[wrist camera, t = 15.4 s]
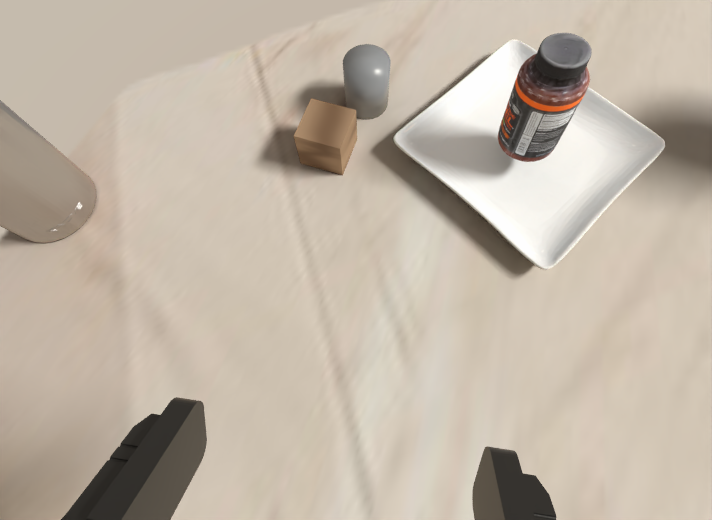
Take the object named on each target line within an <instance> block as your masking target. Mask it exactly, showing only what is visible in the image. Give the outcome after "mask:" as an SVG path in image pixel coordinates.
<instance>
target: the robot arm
mask: <svg viewBox="0 0 712 520" xmlns="http://www.w3.org/2000/svg"><path fill="white" fill-rule="evenodd" d="M95 202H96V189H95V186H94V183H93V181H92V180H91V179H90V177H89V176H88V175H86V174H85V173H84V172H83V171H82V170H81V169H79V168H78V167H77V166H76V165H75V164H74V163H73V162H71V161H70V160H69V159H68V158H67V157H66V156H65V155H63V154H62V153H61V152H60V151H59V150H58V149H57V148H55V147H54V146H53V145H52V144H51V143H50V142H48V141H47V140H46V139H45V138H44V137H43V136H41V135H40V134H39V133H38V132H37V131H36V130H34V129H33V128H32V127H31V126H30V125H29V124H27V123H26V122H25V121H24V120H23V119H21V118H20V117H19V116H18V115H17V114H16V113H15V112H13V111H12V110H11V109H10V108H9V107H8V106H6V105H5V104H4V103H3V102H2V101H1V100H0V226H1V227H3V228H5V229H7V230H9V231H11V232H13V233H15V234H17V235H19V236H21V237H23V238H25V239H27V240H30V241H33V242H41V243H46V242H53V241H57V240H60V239H63V238H65V237H67V236H69V235H71V234H72V233H74V232H75V231H76V230H78V229H79V228H80V227H81V226H82V225H83V224H84V223H85V222H86V221H87V219H88V218H89V216H90V215H91V213H92V211H93V209H94V206H95ZM206 442H207V437H206V426H205V416H204V406H203V403H202V402H201V401H196V400H190V399H183V398H174V399H173V400H171V402H170V403H169V404H168V406H167V407H166V408H165V410H164V411H163V413H162V414H161V415H157V414H151V415H149V416H148V417H147V418H145V419H144V420H142V421H141V422H140V423H138V424H137V425H136V426H134V427H133V428H132V430H131V431H130V432H129V434H128V435H127V436H126V437H125V439H124V440H123V441H122V443H121V445H120V447H118V448H117V449H116V450H115V452H114V453H113V454H112V455H111V457H110V460H109V461H107V462H106V463H105V465H104V466H103V467H102V468H101V470H100V471H99V472H98V474H97V475H96V476H95V477H94V479H93V480H92V481H91V483H90V484H89V485H88V486H87V488H86V489H85V490H84V492H83V493H82V494H81V496H80V497H79V498H78V499H77V501H76V502H75V503H74V505H73V506H72V507H71V508H70V510H69V511H68V512H67V513H66V515H65V516H64V517H63V518H62V519H61V520H170V519H171V517H172V515H173V514H174V512H175V510H176V508H177V506H178V504H179V502H180V500H181V499H182V497H183V495H184V493H185V491H186V489H187V487H188V485H189V484H190V482H191V480H192V478H193V476H194V474H195V472H196V470H197V468H198V467H199V465H200V463H201V461H202V458H203V456H204V452H205V448H206ZM473 511H474V518H475V520H556V514H555V511H554V508H553V505H552V502H551V499H550V496H549V494H548V493H547V491H546V490H545V488H544V487H543V486H542V484H541V483H540V482H539V480H538V479H537V477H536V476H534V475H528V474H523V473H522V470H521V466H520V463H519V459H518V456H517V454H516V452H515V451H512V450H506V449H499V448H493V447H485V449H484V452H483V455H482V458H481V462H480V465H479V468H478V472H477V475H476V478H475V482H474V486H473Z"/></svg>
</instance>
